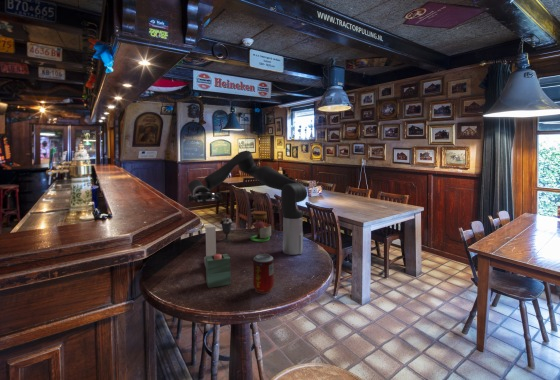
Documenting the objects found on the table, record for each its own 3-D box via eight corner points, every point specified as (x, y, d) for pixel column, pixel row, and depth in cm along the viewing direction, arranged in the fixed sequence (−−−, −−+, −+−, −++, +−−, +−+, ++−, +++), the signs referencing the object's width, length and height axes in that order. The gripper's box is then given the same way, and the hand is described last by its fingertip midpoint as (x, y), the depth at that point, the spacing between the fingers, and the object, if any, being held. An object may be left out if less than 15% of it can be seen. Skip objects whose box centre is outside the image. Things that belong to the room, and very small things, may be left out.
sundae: (235, 239, 165) (234, 212, 163) (229, 242, 158) (228, 214, 156) (224, 237, 167) (224, 211, 165) (218, 241, 160) (217, 213, 158)
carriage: (218, 267, 122) (217, 227, 120) (206, 269, 120) (205, 228, 118) (216, 262, 128) (215, 223, 125) (204, 264, 126) (203, 224, 124)
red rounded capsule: (222, 269, 109) (222, 256, 108) (214, 270, 108) (214, 257, 107) (221, 266, 112) (220, 253, 111) (213, 267, 110) (213, 254, 110)
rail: (230, 284, 110) (230, 258, 108) (208, 288, 107) (207, 261, 105) (217, 260, 133) (216, 238, 132) (199, 262, 130) (198, 240, 129)
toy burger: (246, 241, 160) (245, 214, 158) (253, 235, 172) (253, 209, 170) (267, 243, 157) (267, 215, 155) (273, 236, 169) (273, 210, 167)
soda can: (275, 286, 108) (275, 253, 107) (270, 295, 101) (270, 260, 100) (257, 284, 110) (256, 252, 108) (250, 293, 103) (250, 259, 101)
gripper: (217, 201, 144) (224, 207, 129) (186, 202, 139) (190, 209, 124) (216, 185, 143) (223, 189, 128) (185, 186, 138) (189, 191, 123)
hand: (207, 199), depth 126 cm, fingers open, 8 cm apart
